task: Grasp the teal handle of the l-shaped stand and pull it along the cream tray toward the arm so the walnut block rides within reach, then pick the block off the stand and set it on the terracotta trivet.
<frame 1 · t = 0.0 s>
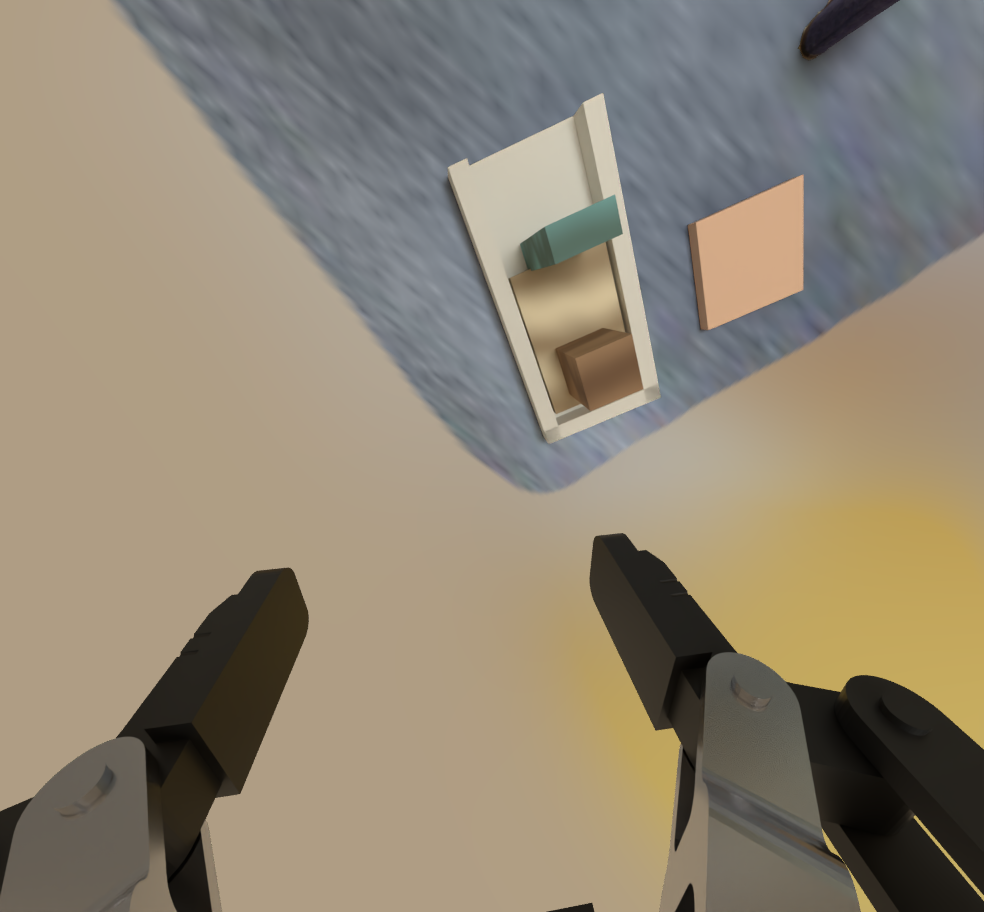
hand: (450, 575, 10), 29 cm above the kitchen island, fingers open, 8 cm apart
trivet: (742, 259, 35), on the kitchen island
block: (585, 362, 36), point 2 cm above the kitchen island, touching l-shaped stand
cream tray: (572, 331, 36), on the kitchen island
l-shaped stand: (587, 325, 31), point 5 cm above the kitchen island, slide at 0.0 cm, touching block
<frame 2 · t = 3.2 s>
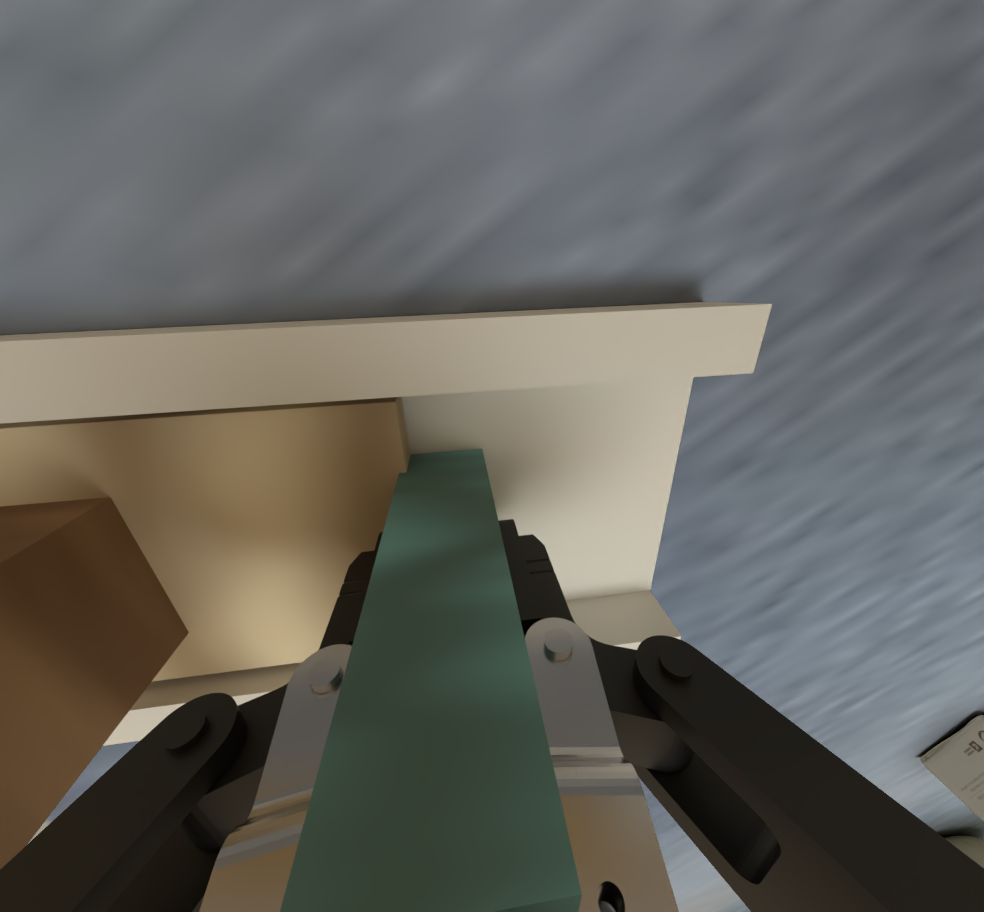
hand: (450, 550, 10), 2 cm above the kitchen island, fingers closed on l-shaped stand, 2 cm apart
skincare box: (980, 732, 26), on the kitchen island
canister: (915, 854, 36), on the kitchen island
block: (57, 581, 10), point 2 cm above the kitchen island, touching l-shaped stand
cream tray: (208, 534, 12), on the kitchen island
l-shaped stand: (115, 678, 7), point 5 cm above the kitchen island, slide at 0.0 cm, touching block, gripper
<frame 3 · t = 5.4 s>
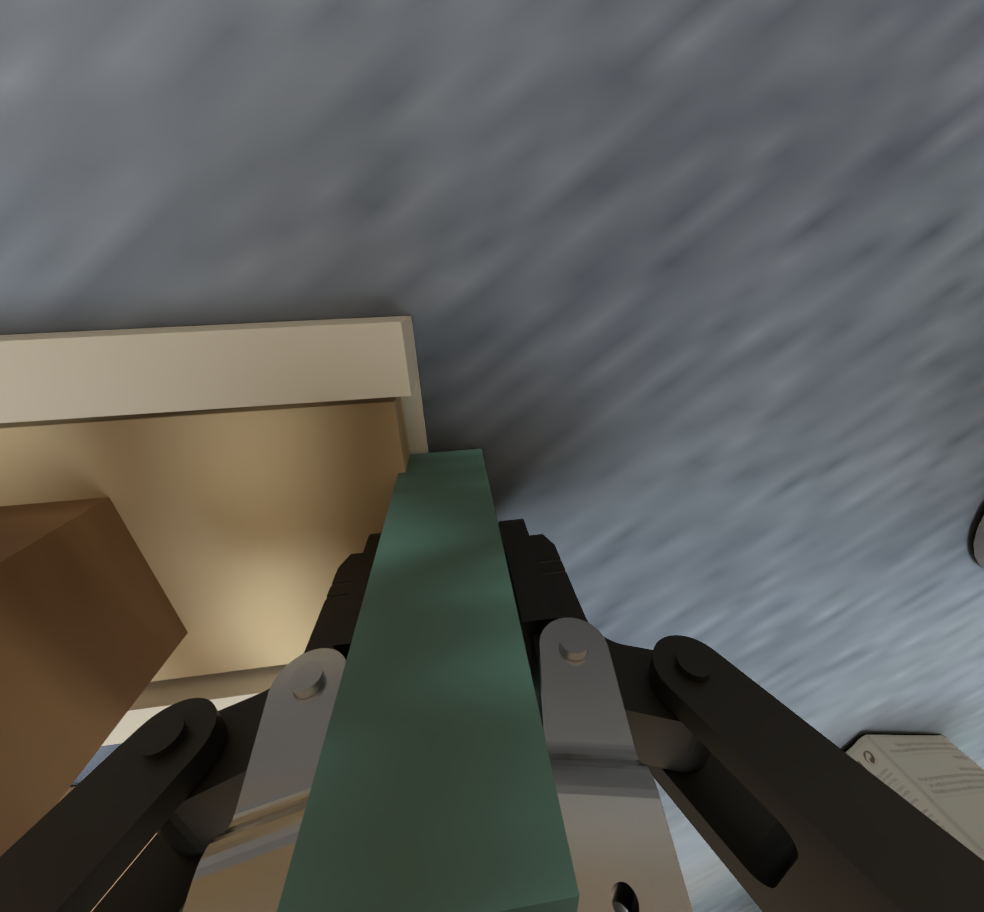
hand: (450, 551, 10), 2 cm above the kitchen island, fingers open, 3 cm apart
skincare box: (876, 750, 25), on the kitchen island
block: (56, 581, 10), point 2 cm above the kitchen island, touching l-shaped stand
l-shaped stand: (114, 678, 7), point 5 cm above the kitchen island, slide at 8.5 cm, touching block
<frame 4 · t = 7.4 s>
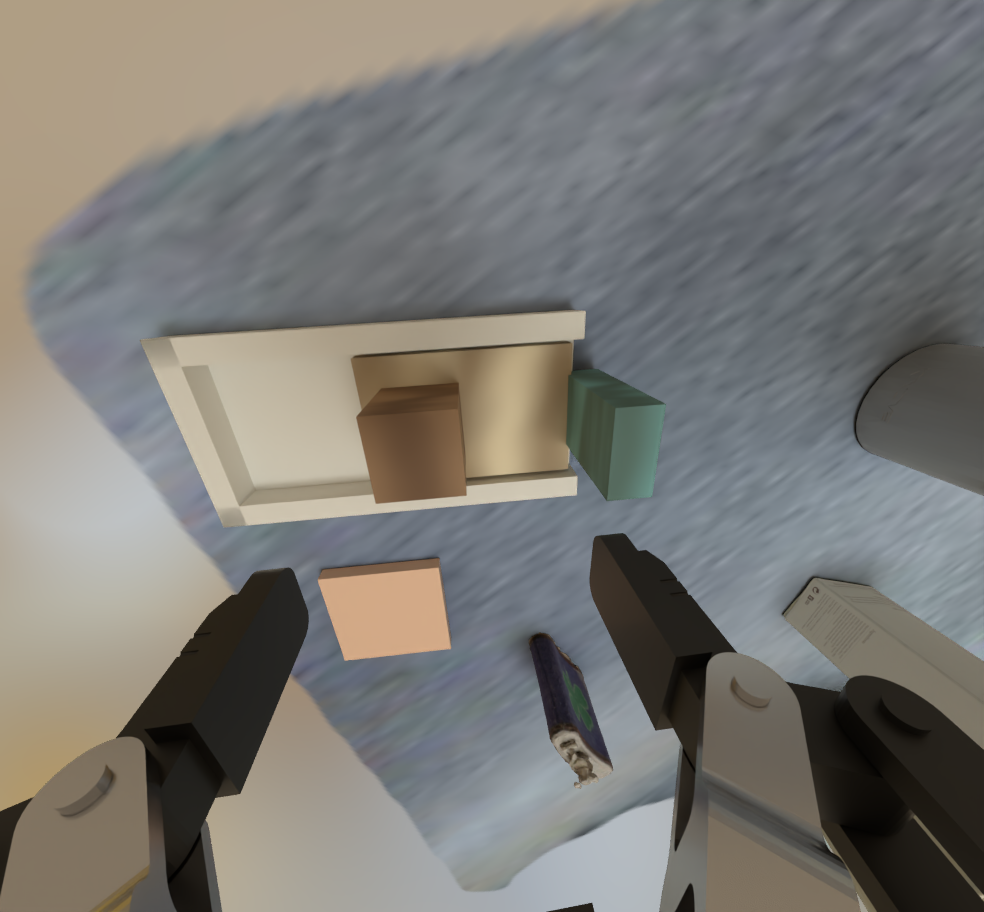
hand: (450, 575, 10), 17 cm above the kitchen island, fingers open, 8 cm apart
skincare box: (826, 598, 37), on the kitchen island
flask: (554, 656, 38), on the kitchen island
canister: (817, 724, 48), on the kitchen island
trivet: (391, 606, 33), on the kitchen island
block: (425, 422, 24), point 2 cm above the kitchen island, touching l-shaped stand
cream tray: (350, 420, 25), on the kitchen island
l-shaped stand: (488, 434, 21), point 5 cm above the kitchen island, slide at 8.5 cm, touching block
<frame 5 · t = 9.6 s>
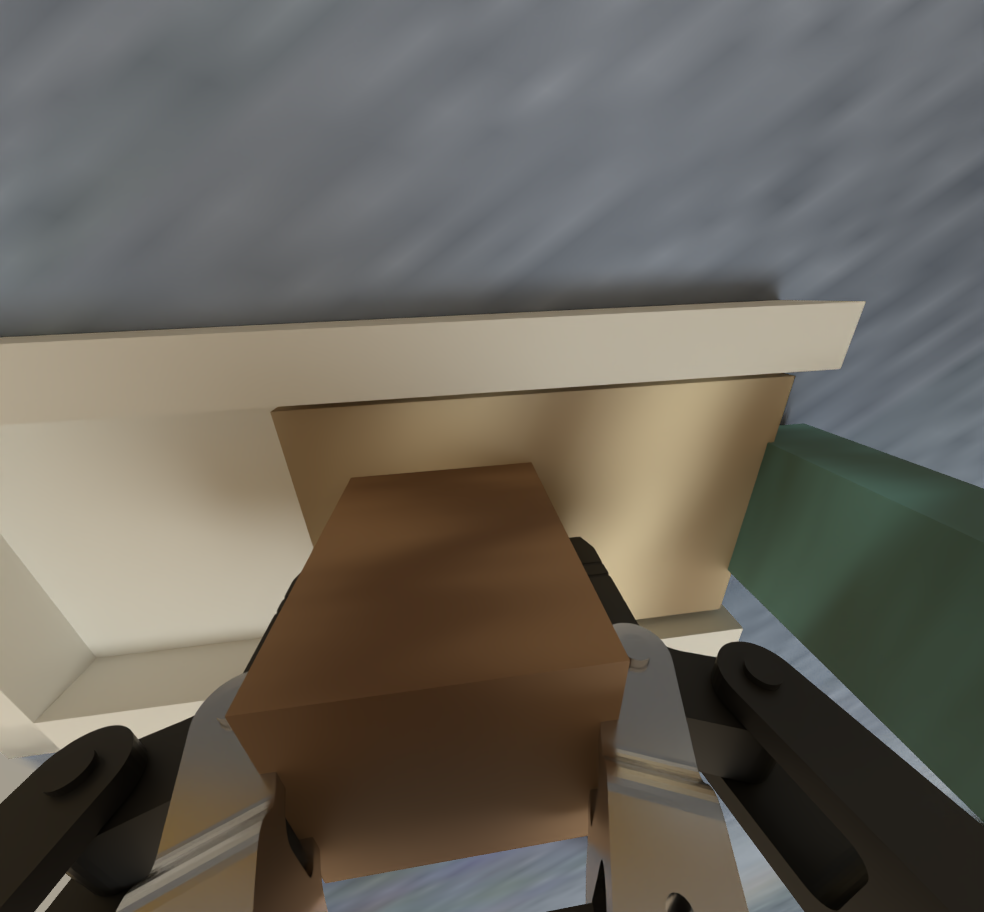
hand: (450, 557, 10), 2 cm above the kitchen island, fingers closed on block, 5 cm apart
block: (451, 541, 11), point 2 cm above the kitchen island, touching gripper, l-shaped stand
cream tray: (286, 527, 12), on the kitchen island
l-shaped stand: (626, 614, 8), point 5 cm above the kitchen island, slide at 8.5 cm, touching block
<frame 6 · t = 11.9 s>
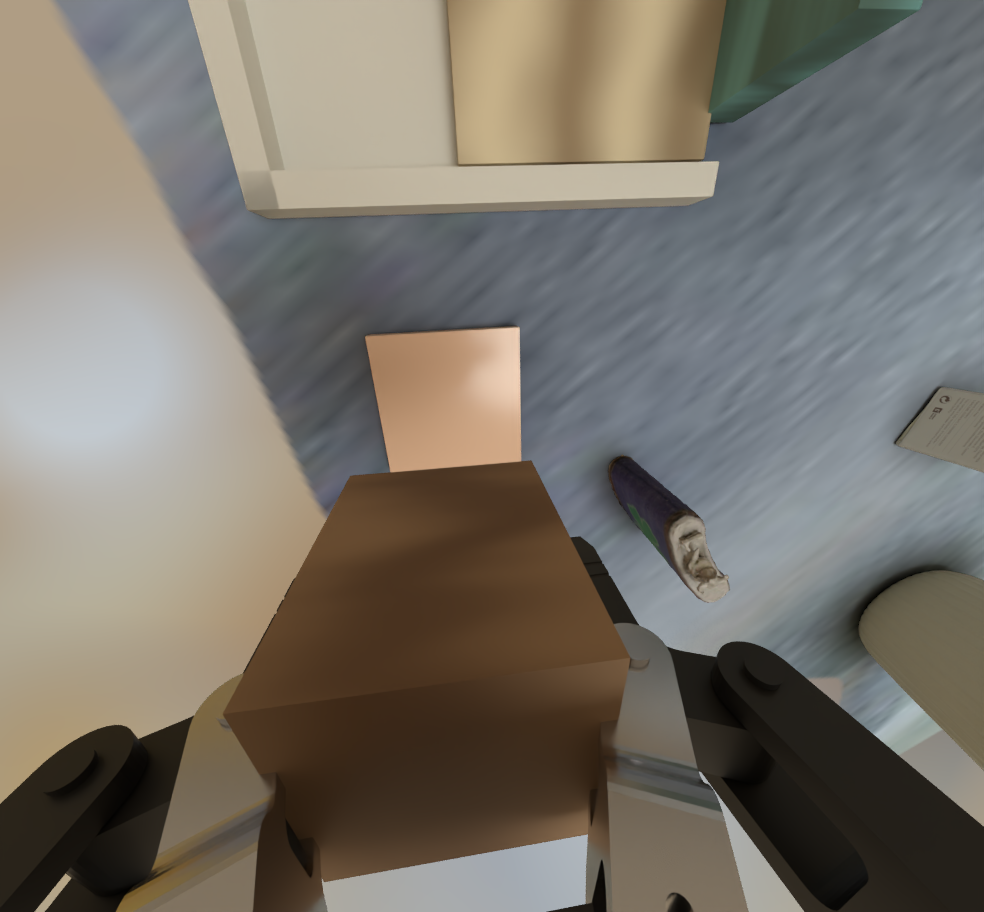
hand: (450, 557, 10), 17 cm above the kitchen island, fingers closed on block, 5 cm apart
skincare box: (944, 423, 32), on the kitchen island
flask: (633, 494, 32), on the kitchen island
canister: (899, 603, 43), on the kitchen island
trivet: (450, 401, 26), on the kitchen island
block: (450, 540, 11), point 17 cm above the kitchen island, touching gripper
cream tray: (421, 67, 18), on the kitchen island
when the fingers open (3 cm above the kitchen island, at t = 14.6 s): block stays where it is, resting on trivet.
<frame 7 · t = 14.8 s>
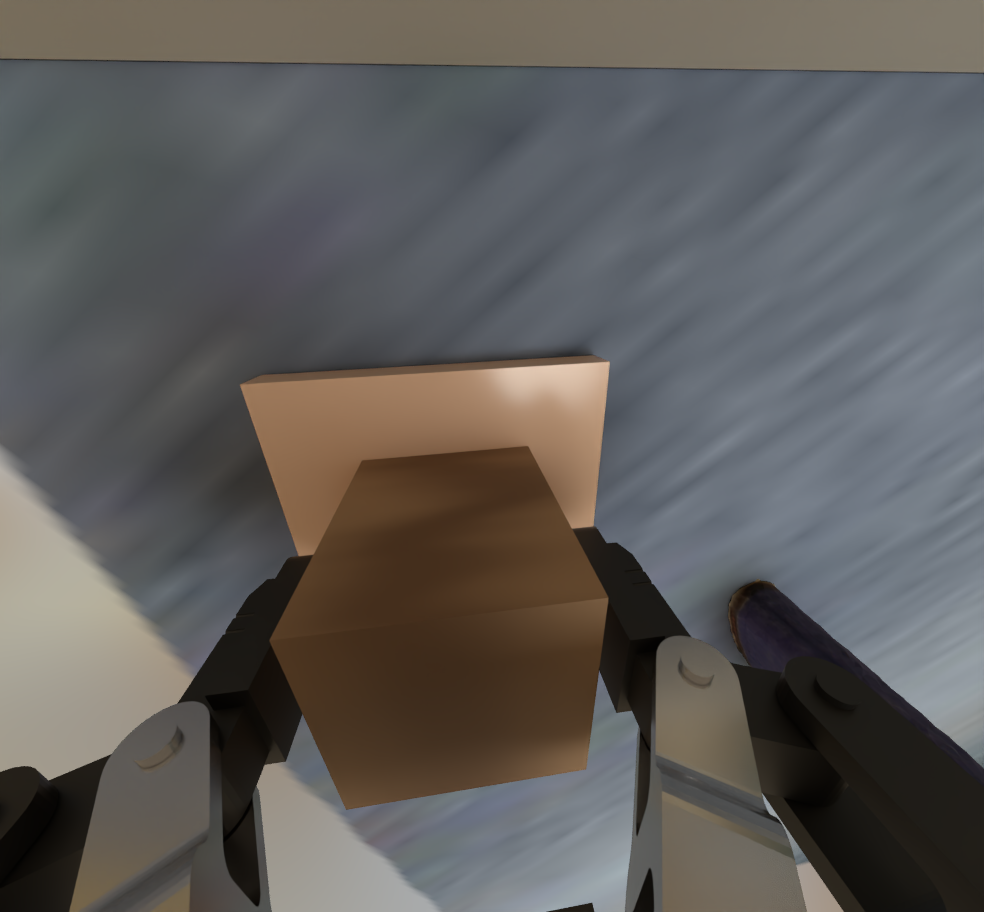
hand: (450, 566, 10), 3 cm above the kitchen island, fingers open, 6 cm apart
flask: (761, 633, 19), on the kitchen island
trivet: (449, 504, 13), on the kitchen island
block: (454, 521, 12), point 1 cm above the kitchen island, touching trivet
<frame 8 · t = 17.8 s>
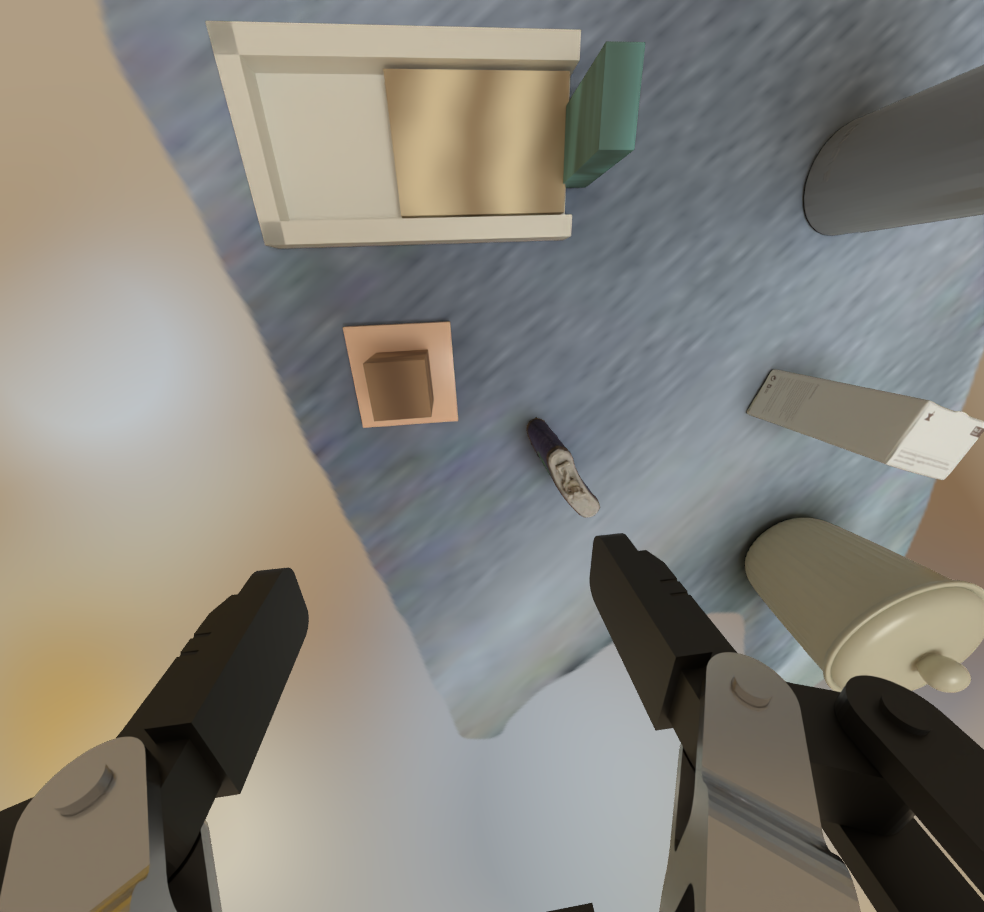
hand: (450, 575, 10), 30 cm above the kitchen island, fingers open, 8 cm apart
skincare box: (783, 397, 43), on the kitchen island
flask: (548, 449, 42), on the kitchen island
canister: (778, 547, 54), on the kitchen island
trivet: (405, 374, 37), on the kitchen island
block: (406, 376, 35), point 1 cm above the kitchen island, touching trivet
cream tray: (377, 155, 29), on the kitchen island
l-shaped stand: (501, 129, 25), point 5 cm above the kitchen island, slide at 8.5 cm
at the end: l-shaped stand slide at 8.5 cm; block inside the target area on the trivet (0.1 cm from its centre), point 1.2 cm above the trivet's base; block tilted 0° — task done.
